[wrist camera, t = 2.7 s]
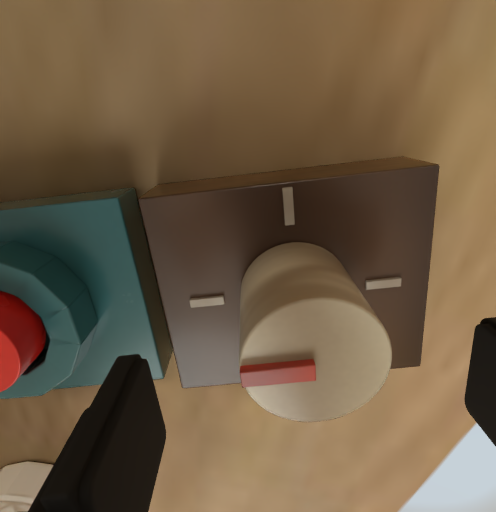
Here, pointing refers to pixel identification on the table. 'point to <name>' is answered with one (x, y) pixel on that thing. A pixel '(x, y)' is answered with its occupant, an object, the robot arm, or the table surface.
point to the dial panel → (286, 231)
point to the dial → (308, 336)
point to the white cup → (21, 485)
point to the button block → (83, 286)
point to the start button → (18, 338)
